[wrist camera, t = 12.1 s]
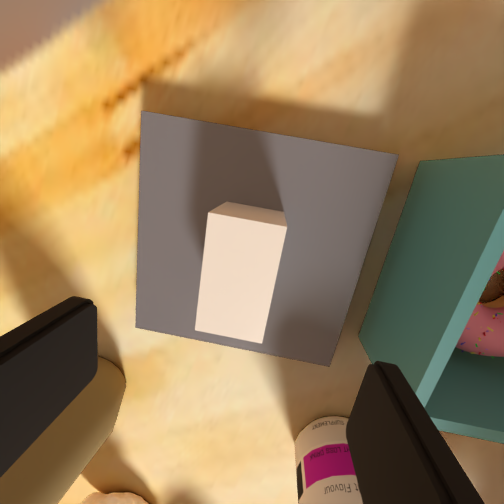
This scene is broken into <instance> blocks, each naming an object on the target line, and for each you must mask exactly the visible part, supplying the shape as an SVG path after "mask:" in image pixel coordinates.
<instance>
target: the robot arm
mask: <svg viewBox="0 0 504 504" xmlns="http://www.w3.org/2000/svg"><path fill="white" fill-rule="evenodd" d="M97 369H98V357H97V307H96V306H95V305H94V304H93V301H92V300H90V299H85V298H80V297H76V296H73V297H70V298H68V299H66V300H65V301H63V302H61V303H59V304H58V305H56V306H54V307H52V308H50V309H49V310H47V311H45V312H43V313H42V314H40V315H38V316H36V317H34V318H33V319H31V320H29V321H27V322H26V323H24V324H22V325H20V326H18V327H17V328H15V329H13V330H11V331H10V332H8V333H6V334H4V335H2V336H1V337H0V478H1V477H2V475H3V474H4V473H5V472H6V471H7V470H8V469H9V468H10V467H11V466H12V465H13V464H14V463H15V462H16V461H17V460H18V458H19V457H20V456H21V455H22V454H23V453H24V452H25V451H26V450H27V449H28V448H29V447H30V446H31V445H32V444H33V442H34V441H35V440H36V439H37V438H38V437H39V436H40V435H41V434H42V433H43V432H44V431H45V430H46V429H47V428H48V426H49V425H50V424H51V423H52V422H53V421H54V420H55V419H56V418H57V417H58V416H59V415H60V414H61V413H62V412H63V410H64V409H65V408H66V407H67V406H68V405H69V404H70V403H71V402H72V401H73V400H74V399H75V398H76V397H77V396H78V395H79V393H80V392H81V391H82V390H83V389H84V388H85V387H86V386H87V385H88V384H89V383H90V382H91V381H92V379H93V378H94V377H95V375H96V373H97ZM346 439H347V443H348V447H349V450H350V454H351V458H352V462H353V466H354V470H355V474H356V478H357V482H358V486H359V490H360V494H361V498H362V502H363V504H484V502H483V500H482V499H481V497H480V496H479V494H478V492H477V491H476V489H475V488H474V486H473V485H472V483H471V481H470V480H469V478H468V477H467V475H466V473H465V472H464V470H463V469H462V467H461V465H460V464H459V462H458V461H457V459H456V458H455V456H454V454H453V453H452V451H451V450H450V448H449V446H448V445H447V443H446V442H445V440H444V438H443V437H442V435H441V434H440V432H439V431H438V429H437V427H436V426H435V424H434V423H433V421H432V419H431V418H430V416H429V415H428V413H427V411H426V410H425V408H424V407H423V405H422V403H421V402H420V400H419V399H418V397H417V396H416V394H415V392H414V391H413V389H412V388H411V386H410V384H409V383H408V381H407V380H406V378H405V376H404V375H403V373H402V372H401V370H400V369H399V367H398V366H397V365H395V364H392V363H387V362H382V361H376V362H375V363H374V364H370V365H369V366H368V368H367V371H366V373H365V376H364V379H363V381H362V384H361V387H360V390H359V392H358V395H357V398H356V400H355V403H354V406H353V409H352V411H351V414H350V417H349V419H348V422H347V425H346Z"/></svg>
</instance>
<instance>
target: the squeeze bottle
mask: <svg viewBox="0 0 504 504" xmlns="http://www.w3.org/2000/svg"><path fill="white" fill-rule="evenodd" d="M125 388H126V384H125V378H124V376H123V374H122V373H121V371H120V370H119V368H118V367H116V366H115V365H114V364H113V363H112V362H110V361H108V360H106V359H103V358H101V357H98V369H97V373H96V375H95V377H94V378H93V379H92V381H91V382H90V383H89V384H88V385H87V386H86V387H85V388H84V389H83V390H82V391H81V392H80V393H79V395H78V396H77V397H76V398H75V399H74V400H73V401H72V402H71V403H70V404H69V405H68V406H67V407H66V408H65V409H64V410H63V412H62V413H61V414H60V415H59V416H58V417H57V418H56V419H55V420H54V421H53V422H52V423H51V424H50V425H49V426H48V428H47V429H46V430H45V431H44V432H43V433H42V434H41V435H40V436H39V437H38V438H37V439H36V440H35V441H34V442H33V444H32V445H31V446H30V447H29V448H28V449H27V450H26V451H25V452H24V453H23V454H22V455H21V456H20V457H19V458H18V460H17V461H16V462H15V463H14V464H13V465H12V466H11V467H10V468H9V469H8V470H7V471H6V472H5V473H4V474H3V475H2V477H1V478H0V504H58V503H59V501H60V500H61V499H62V497H63V496H64V495H65V493H66V492H67V491H68V489H69V488H70V487H71V485H72V484H73V483H74V481H75V480H76V479H77V477H78V476H79V475H80V473H81V472H82V471H83V469H84V468H85V467H86V465H87V464H88V463H89V462H90V460H91V459H92V458H93V456H94V455H95V454H96V452H97V451H98V450H99V448H100V447H101V446H102V444H103V443H104V442H105V440H106V439H107V438H108V436H109V435H110V434H111V432H112V431H113V428H114V425H115V422H116V419H117V416H118V412H119V409H120V405H121V402H122V398H123V395H124V391H125Z"/></svg>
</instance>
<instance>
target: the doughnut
mask: <svg viewBox="0 0 504 504" xmlns="http://www.w3.org/2000/svg"><path fill="white" fill-rule="evenodd" d="M502 268H503V270H504V251H503V253H502V255H501V257H500V259H499V261H498V263H497V265H496V267H495V269H494V271H493V273H492V275H493V274H495V273H498V274H501V273H499V272H498V271H499V270H501V269H502ZM492 275H491V276H492ZM489 280H490V279H489ZM486 286H488V285H486ZM484 290H485V289H484ZM455 347H456V348H459V349H461V350H462V351H461V352H463V351H467V352H469V353H471V354H477V355H484V356H491V357H492V358H494V357H493V356H496V357H504V295H503V296H501V297H500V298H498V299H496V300H494V301H492V302H489V303H483V304H482V303H481V302H480V301H478V303H477V305H476V307H475V309H474V311H473V313H472V314H471V316H470V318H469V320H468V322H467V324H466V326H465V328H464V330H463V332H462V334H461V336H460V338H459V340H458V342H457V344H456V346H455Z"/></svg>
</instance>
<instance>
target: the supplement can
mask: <svg viewBox="0 0 504 504" xmlns="http://www.w3.org/2000/svg"><path fill="white" fill-rule="evenodd" d="M348 419H349V418H345V417H339V416H330V417H322V418H320V419H317V420H315V421H312V422H311V423H310V424H309V425H307V426H306V427H305V428H304V429H303V430H302V431H301V432H300V433H299V435H298V437H297V439H296V441H295V459H296V474H297V489H298V503H299V504H363V502H362V498H361V494H360V490H359V486H358V482H357V478H356V474H355V470H354V466H353V462H352V458H351V454H350V450H349V447H348V443H347V439H346V425H347V422H348Z"/></svg>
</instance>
